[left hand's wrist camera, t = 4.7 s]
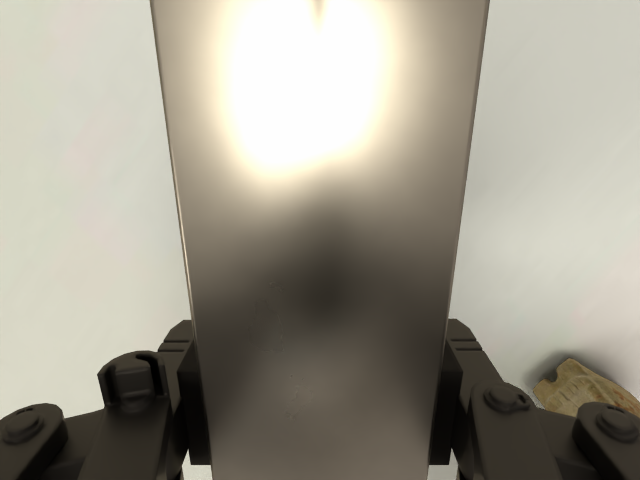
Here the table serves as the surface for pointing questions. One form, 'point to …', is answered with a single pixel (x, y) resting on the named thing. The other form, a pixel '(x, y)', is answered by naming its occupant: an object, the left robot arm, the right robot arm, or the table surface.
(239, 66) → the bar
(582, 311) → the table surface
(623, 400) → the sculpture
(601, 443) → the left robot arm
